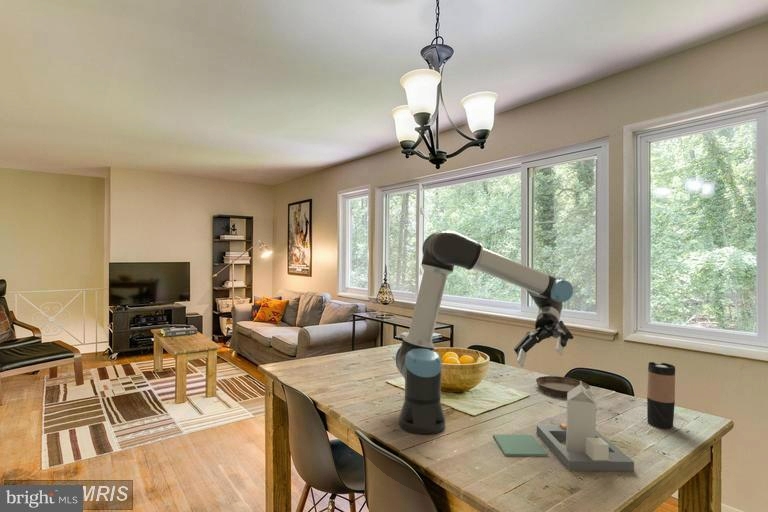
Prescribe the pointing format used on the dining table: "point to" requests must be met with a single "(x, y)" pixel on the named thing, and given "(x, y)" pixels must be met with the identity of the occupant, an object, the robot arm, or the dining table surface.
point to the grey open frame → (596, 455)
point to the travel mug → (661, 395)
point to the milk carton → (580, 418)
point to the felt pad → (519, 445)
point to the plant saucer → (559, 384)
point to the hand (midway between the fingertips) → (539, 358)
